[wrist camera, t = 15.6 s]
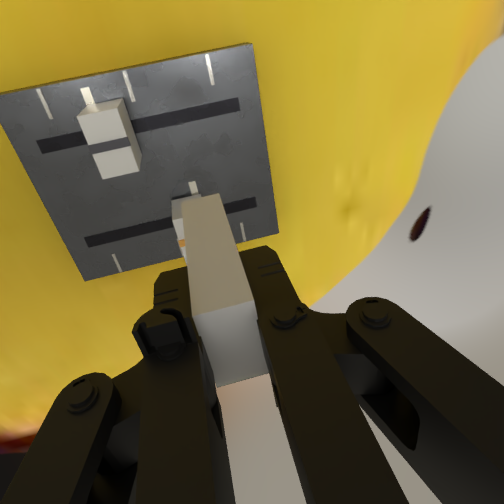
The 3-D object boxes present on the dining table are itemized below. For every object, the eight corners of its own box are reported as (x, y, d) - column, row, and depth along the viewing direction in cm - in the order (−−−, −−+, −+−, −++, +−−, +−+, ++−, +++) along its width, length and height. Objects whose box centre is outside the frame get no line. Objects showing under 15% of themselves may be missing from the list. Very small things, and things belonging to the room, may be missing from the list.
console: (88, 269, 42) (84, 281, 40) (-2, 93, 31) (-14, 97, 29) (273, 223, 43) (279, 233, 41) (247, 42, 33) (252, 43, 31)
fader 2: (184, 242, 39) (186, 265, 35) (170, 200, 36) (171, 221, 33) (212, 235, 39) (217, 257, 36) (201, 193, 37) (205, 213, 33)
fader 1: (109, 162, 33) (101, 180, 29) (86, 105, 31) (75, 117, 27) (142, 155, 34) (139, 171, 30) (123, 97, 31) (117, 108, 27)
